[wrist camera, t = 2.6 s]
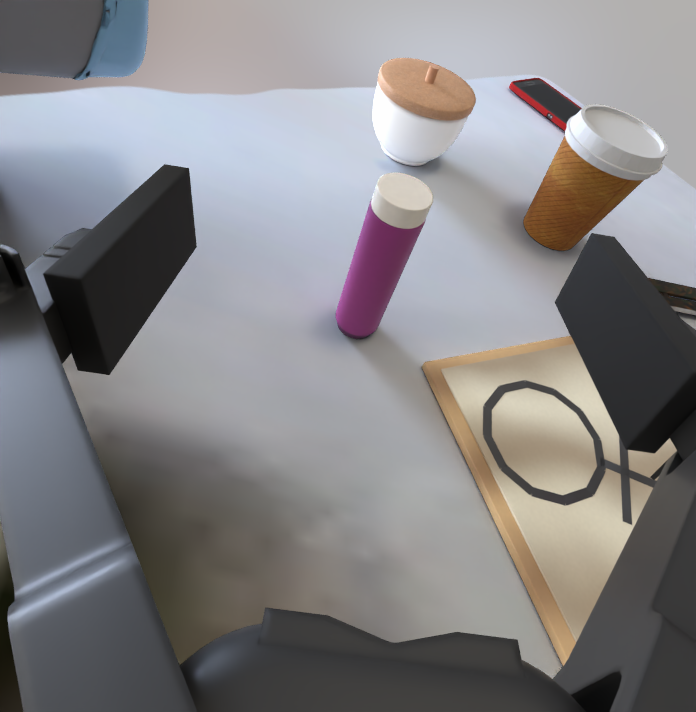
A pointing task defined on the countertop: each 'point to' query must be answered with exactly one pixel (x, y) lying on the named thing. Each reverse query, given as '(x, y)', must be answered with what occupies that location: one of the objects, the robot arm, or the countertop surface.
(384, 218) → the dot marker
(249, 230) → the countertop surface
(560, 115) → the cell phone
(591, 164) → the disposable coffee cup
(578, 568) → the drawing board
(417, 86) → the lidded sugar bowl
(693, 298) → the knife
